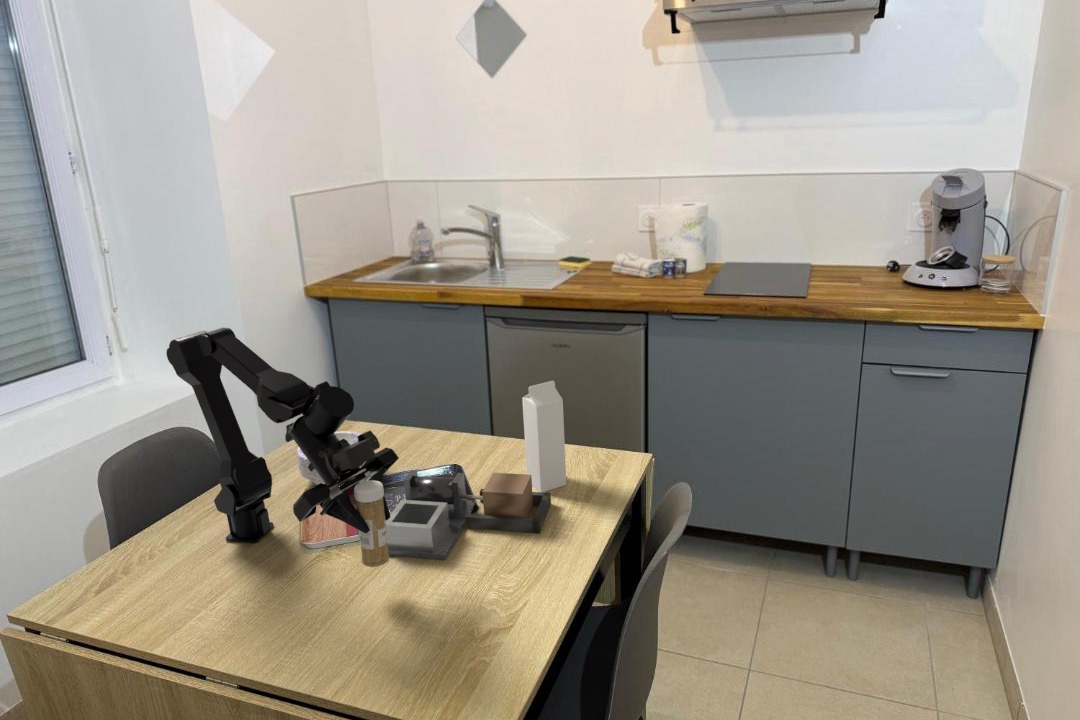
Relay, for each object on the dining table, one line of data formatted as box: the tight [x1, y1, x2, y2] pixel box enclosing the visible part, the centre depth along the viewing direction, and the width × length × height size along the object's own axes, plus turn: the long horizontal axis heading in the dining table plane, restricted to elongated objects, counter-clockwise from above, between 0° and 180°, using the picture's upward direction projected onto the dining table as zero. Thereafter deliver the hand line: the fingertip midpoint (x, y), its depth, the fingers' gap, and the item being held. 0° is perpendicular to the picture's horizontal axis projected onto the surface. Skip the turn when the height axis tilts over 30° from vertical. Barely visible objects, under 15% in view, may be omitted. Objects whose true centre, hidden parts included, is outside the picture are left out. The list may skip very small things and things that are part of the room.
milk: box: [521, 380, 567, 493], centre depth 159 cm, size 6×6×22 cm
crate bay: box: [465, 472, 552, 534], centre depth 150 cm, size 14×11×7 cm
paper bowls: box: [296, 430, 366, 486], centre depth 168 cm, size 15×15×8 cm
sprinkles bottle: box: [353, 480, 390, 568], centre depth 127 cm, size 5×5×14 cm
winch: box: [385, 469, 483, 561], centre depth 146 cm, size 19×19×8 cm
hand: (378, 525), depth 126 cm, fingers closed on sprinkles bottle, 4 cm apart
